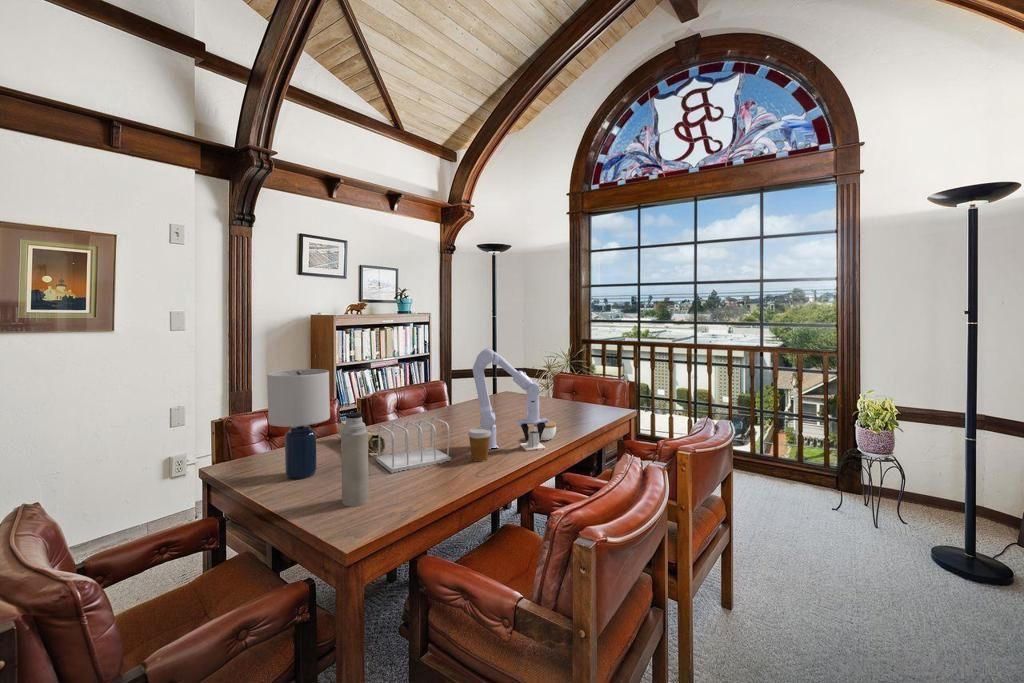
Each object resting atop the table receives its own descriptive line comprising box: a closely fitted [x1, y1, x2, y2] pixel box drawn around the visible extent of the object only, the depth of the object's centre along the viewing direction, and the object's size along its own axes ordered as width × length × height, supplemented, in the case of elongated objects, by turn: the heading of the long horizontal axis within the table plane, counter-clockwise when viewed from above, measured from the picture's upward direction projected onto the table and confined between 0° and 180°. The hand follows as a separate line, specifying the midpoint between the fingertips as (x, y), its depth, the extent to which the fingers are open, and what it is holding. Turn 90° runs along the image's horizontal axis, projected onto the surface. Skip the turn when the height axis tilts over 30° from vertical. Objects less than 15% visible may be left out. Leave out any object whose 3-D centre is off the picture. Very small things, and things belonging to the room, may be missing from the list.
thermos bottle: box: [340, 412, 370, 507], centre depth 142 cm, size 8×8×28 cm
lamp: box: [266, 368, 331, 480], centre depth 165 cm, size 20×20×39 cm
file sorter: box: [375, 417, 452, 474], centre depth 181 cm, size 25×17×16 cm
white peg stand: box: [520, 441, 547, 450], centre depth 201 cm, size 9×9×4 cm
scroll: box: [334, 420, 386, 457], centre depth 201 cm, size 11×34×10 cm, turn 41°
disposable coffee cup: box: [467, 427, 491, 462], centre depth 184 cm, size 10×10×12 cm
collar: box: [526, 430, 540, 447], centre depth 200 cm, size 5×5×6 cm
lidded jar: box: [533, 420, 557, 440], centre depth 215 cm, size 11×11×9 cm
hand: (532, 440), depth 200 cm, fingers closed on collar, 5 cm apart
